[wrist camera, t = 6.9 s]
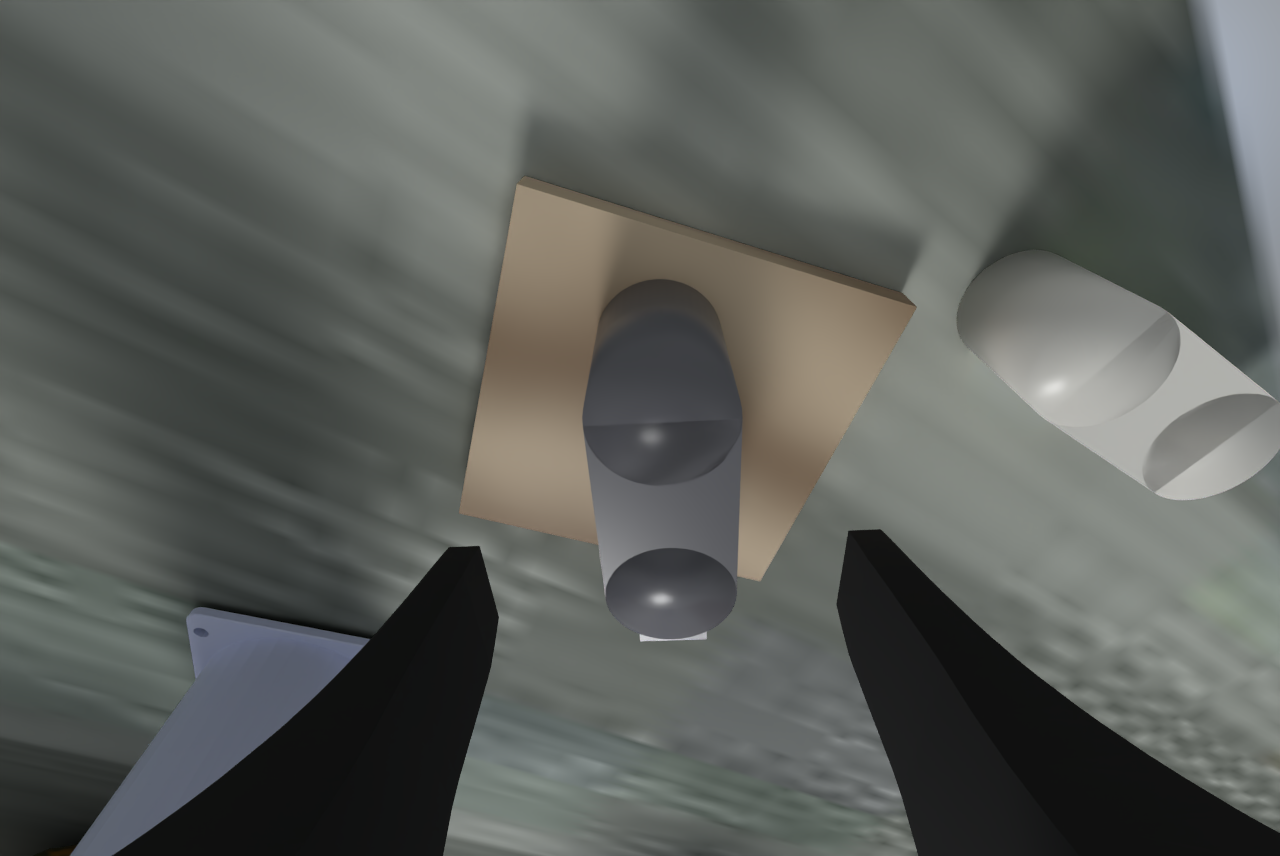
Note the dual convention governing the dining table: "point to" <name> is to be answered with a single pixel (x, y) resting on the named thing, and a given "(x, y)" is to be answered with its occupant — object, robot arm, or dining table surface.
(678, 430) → the charcoal plug
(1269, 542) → the dining table surface
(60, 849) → the decorative pumpkin
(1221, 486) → the offwhite plug
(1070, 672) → the dining table surface
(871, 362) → the cork pad
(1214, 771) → the dining table surface
